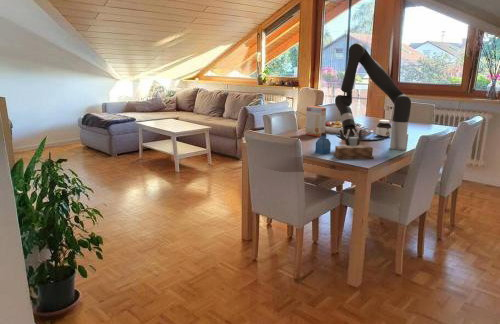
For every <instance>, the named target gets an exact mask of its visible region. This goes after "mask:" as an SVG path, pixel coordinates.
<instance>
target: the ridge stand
mask: <svg viewBox="0 0 500 324" xmlns="http://www.w3.org/2000/svg"><path fill="white" fill-rule="evenodd" d="M373 150H374V147H372V146H371V145H358V146H347V145H335V149H334V153H333V156H334V157H335V158H336V159H337V160H374V159H375V157H374V155H373Z"/></svg>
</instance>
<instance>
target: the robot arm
mask: <svg viewBox="0 0 500 324" xmlns="http://www.w3.org/2000/svg"><path fill="white" fill-rule="evenodd" d="M347 55H348V56H347V57H348V58H347V62H346V63H347V64H346V68H345V73H344V75H343V80H342V83H341V87H340V90H341V92H343V93H346V95H345V94H344V95H343V94H338V95H336V96H335V98H334V103H335V107H336V108H337V110H338V111H339V113H340V120H341V121H340V122H342V126H343V130H340V131H339V134H338V135H339V137H340V139H341V141H344V143H345V146H348V145H349V142H348V137H356V138H358V139H357V146H360V140H361V139H362V138H363V136H362V135H363V134H362V129H360V130H357V129H356V126H355V123H356V122H355V119H354V118H355V117H354V115H353V111H352V108H351V107H350V106H351V105H352V103H353V89H354V84H355V80H356V77H357V76H356V75H357V69H358V66H359V64H360V65H361V66H362V67H363V69H364V71H365V72H366V74H367V76H368V77H369V79H370V80H371V81H372V83H374V85H376V86H377V88H379V89H380V90H381V91H383V93H385V94H386V95H387V97H388V98H389V99H390V100H391V102H392V103H393V106H394V109H393V116H392V123H391V127H392V130H391V135H390V143H389V148H390V149H392V150H398V151H404V150H408V149H407V148H408V141H409V140H408V139H409V134H408V127H409V122H410V121H409V119H410V116H411V108H412V101H411V98H410V97H409V96H408V95H406V94H405V93H404V92H403V91H401V89H400V88H399V87H398V86H397V84H395V82H394V80H393V78H392V77H391V76H390V75H389V73H388V72H387V71H386V70H385V69H384V68H383V67H382V65H380V63H379V62H377V61H376V60H375V59H374V58H373V57H372V56H371V55H370V53H369V51H368V50H367V49H366V48H365V46H364V45H363V43H360V42H355V43H353V44H351V46H349V48H348V54H347ZM356 132H357V133H356ZM343 133H345V134H343Z"/></svg>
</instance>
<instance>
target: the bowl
mask: <svg viewBox="0 0 500 324" xmlns="http://www.w3.org/2000/svg"><path fill="white" fill-rule="evenodd" d="M341 127H343V126H342V122H341V121H339V120H337V121H328V120H326V123H325V133H329V134H334V135H335V134H336V135H339V131H340V130H341Z"/></svg>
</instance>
